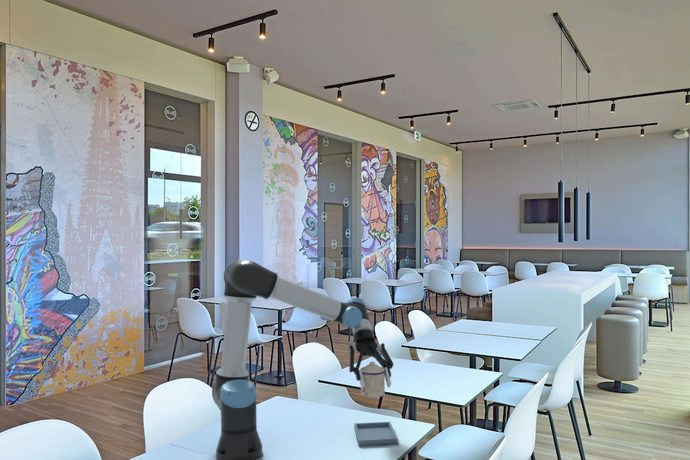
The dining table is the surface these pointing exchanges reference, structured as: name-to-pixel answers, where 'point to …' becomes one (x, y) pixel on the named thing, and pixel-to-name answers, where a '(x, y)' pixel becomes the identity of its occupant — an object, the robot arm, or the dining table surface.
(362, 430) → the slate tray
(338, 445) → the dining table surface
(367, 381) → the teacup with lid
